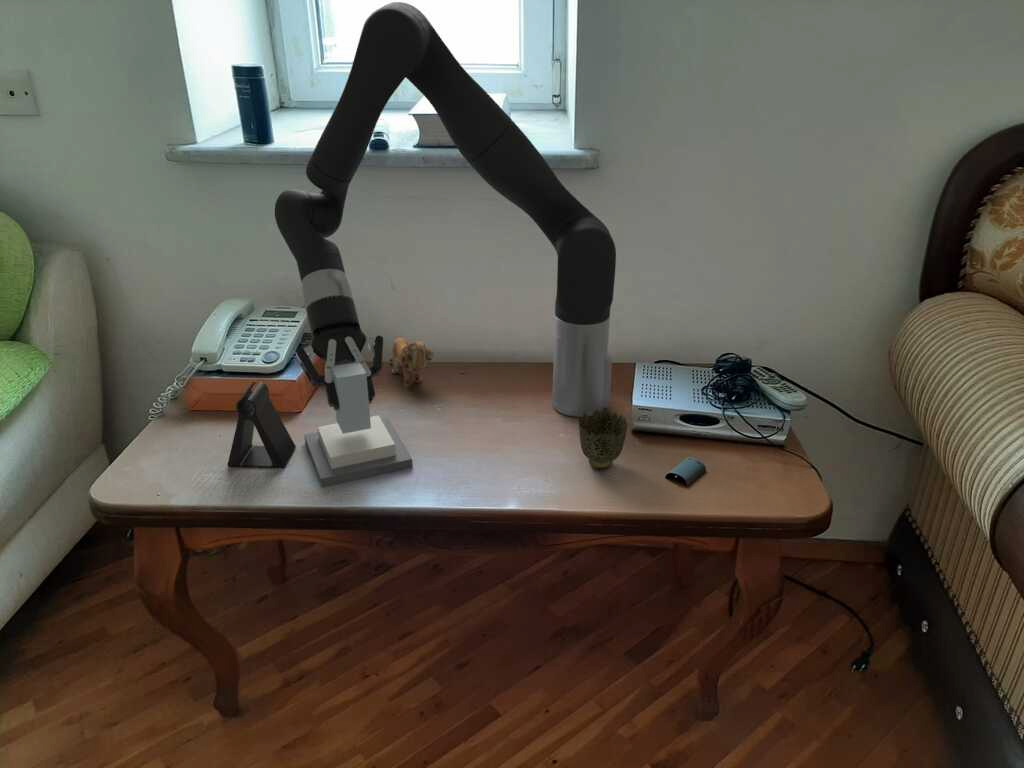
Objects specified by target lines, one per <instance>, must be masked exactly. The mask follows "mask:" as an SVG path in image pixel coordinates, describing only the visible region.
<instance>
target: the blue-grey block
mask: <svg viewBox="0 0 1024 768" xmlns="http://www.w3.org/2000/svg"><path fill="white" fill-rule="evenodd" d="M331 370H332V374H333V383H335V388H336V392H337V396H338V401H339V406H340V407H339V410H335V416H336V417H335V418H336V421H337V423H338V425H339V427H340V429H341V431H342V433H343V434H345V433H350V432H355V431H360V430H365V429H371V422H370V417H371V412H370V411H371V410H370V404H369V399H368V387H367V375H366V372H365V370H364V368H363V367H362V365H361V363H357V362H354V363H348V364H342V365H336V366H334V367H331Z"/></svg>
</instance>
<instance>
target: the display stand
mask: <svg viewBox="0 0 1024 768" xmlns="http://www.w3.org/2000/svg"><path fill="white" fill-rule="evenodd" d="M370 422H371V429H365V430H360V431H355V432H350V433H345V434H343V433H342V431H341V429H340V427H339V425H338V422H337V423H331V424H327V425H322V426H317V431H315V432H310V433H304V434H303V436H304V443H305V446H306V447H307V451H308V453H309V454H308V455H310V456H309V457H310V458H311V462H312V465H313V467H314V470H315V473H316V475H317V478H318V481H319V483H320V486H321V488H323V487H328V486H329V487H330V486H333V485H338V484H342V483H347V482H352V481H356V480H361V479H365V478H371V477H374V476H378V475H382V474H388V473H392V472H396V471H397V472H398V471H403V470H406V469H411V468H413V466H414V465H413V458H412V456H411V454H410V453H409V451H408V449H407V448H406V446H405V445H404V443H403V441H402V439H401V437H400V436H399V435H398V433H397V431H396V429H395V427H394V425H393V424H392V423H391V421H390V418H388V417H387V418H386V417H385V418H383V419H381V416H380V415H379V414H377V415H373V416H370Z"/></svg>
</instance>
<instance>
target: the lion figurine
mask: <svg viewBox="0 0 1024 768" xmlns="http://www.w3.org/2000/svg"><path fill="white" fill-rule="evenodd" d="M425 344H426V343H425V342H423V341H415V342H412V343H409V342H408V341H407V339H405V338H403V337H402V338H401V337H398V338H396V339H395V340H394V341H393V343H392V348H391V351H392V353H391V354H392V358H390V359H389V362H390V363H392V370H391V374H392V373H393V375H395V374H396V373H397V374H398V372H399V371H398V361H399V364H400V365H401V366H402V373H403V378H404V381H403V382H404V383H403V385H404V387H406V386H408V387H411V380H410V377H409V375H410V373H413V374H414V378H413V379H414V381H415V382H416V383H422V381H423V378H421V377H420V372H421V371H422V370H423V369H424V368H425V367H426V366H427V362H432V359H433V358H434V356H435V353H436V352H434V351H432V350H430V349H429V348H428V347H427V346H426V345H425Z"/></svg>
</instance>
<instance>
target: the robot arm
mask: <svg viewBox="0 0 1024 768" xmlns="http://www.w3.org/2000/svg"><path fill="white" fill-rule="evenodd" d="M355 51H356V52H355V53H354V54H355V55H354V59H353V61H352V64H351V69H350V70H349V75H348V77H347V79H346V82H345V85H344V88H343V91H342V92H341V96H340V98H339V100H338V102H337V105H336V106H335V109H334V110H333V112H332V114H331V116H330V118H329V120H328V122H327V124H326V126H325V127H324V129H323V132H322V133H321V135H320V138H319V139H318V141H317V143H316V146H315V148H314V150H313V151H312V154H311V156H310V158H309V160H308V162H307V164H306V166H305V174H306V177H307V179H308V181H309V182H310V183H311V184H313V185H314V186H315V187H317V188H318V189H320V190H321V192H319V193H316V192H310V191H306V190H300V189H297V188H296V189H295V188H288V189H286V190H284V191H282V192H281V193H280V194H279V195H278V196H277V198H276V201H275V203H274V218H275V223H276V226H277V228H278V230H279V232H280V234H281V236H282V237H283V239H284V242H285V244H286V245H287V247H288V248H289V250H290V253H291V254H292V257H293V258H294V260H295V261H296V265H297V269H298V273H299V278H300V282H301V292H302V296H303V297H302V299H303V307H304V310H305V311H306V315H307V321H308V324H309V330H310V334H311V339H312V340H311V343H310V345H308V346H306V347H298V348H296V351H295V358H296V361H297V362H298V364H299V366H300V367H301V369H302V371H303V372H304V374H305V375H306V378H307V380H308V381H309V382H310V384H311V385H312V387H322V388H324V391H325V394H326V398H327V403H328V406H329V407H330V408H333V410H334V411H336V410H339V407H340V406H339V401H338V396H337V392H336V388H335V383H333V374H332V370H331V367H334V366H336V365H342V364H348V363H354V362H357V363H361V365H362V367H363V368H364V370H365V372H366V375H367V387H368V399H369V405H371V404H372V402H373V400H374V399H375V396H376V391H375V388H374V383H373V380H372V378H374V377H378V376H379V375H380V372H381V370H382V368H383V367H382V364H383V352H384V351H383V349H384V337H383V336H382V335H377V336H376V337H374V336H373V337H372V336H366V334H365V333H364V332H363V331H362V329H361V325H360V322H359V317H358V314H357V309H356V306H355V305H356V304H355V302H354V298H353V297H354V295H353V293H352V289H351V285H350V283H349V280H348V278H347V275H346V271H345V267H344V262H343V259H342V256H341V252H340V249H339V247H338V245H336V244H335V243H334V242H333V241H331V240H328V239H326V238H329V237H331V236H333V235H334V234H335V233H336V232H337V231H338V230H339V228H340V226H341V224H342V220H343V215H344V210H345V204H346V198H347V194H348V190H349V187H350V184H351V182H352V180H353V179H354V177H355V174H356V172H357V171H358V168H359V167H360V164H362V163H361V162H362V160H363V159H364V156H365V154H366V152H367V150H368V149H369V145H370V142H371V139H372V137H373V134H374V131H375V129H376V126H377V123H378V121H379V119H380V116H381V114H382V113H383V111H384V109H385V107H386V105H387V104H388V102H389V101H390V99H391V98H392V95H394V93H395V92H396V90H397V89H398V88H399V87H400V86H401V84H402V83H403V81H404V80H405V79H407V80H408V81H409V82H410V83H411V84H412V85H413V86H414V87H415V88H416V89H417V90H418V91H419V93H421V94H422V95H423V96H424V98H426V99H427V101H428V102H429V104H430V105H431V106H432V107H433V109H434V110H435V112H436V113H437V115H438V117H439V119H440V121H441V123H442V124H443V126H444V128H445V130H446V132H447V134H448V136H449V137H450V139H451V141H452V142H453V144H454V145H455V147H456V149H457V150H458V151H459V153H460V154H461V156H462V157H463V158H464V160H465V161H466V162H467V163H468V164H469V165H470V167H472V168H473V169H474V171H475V172H476V173H477V174H478V175H479V176H480V177H481V178H482V179H483V180H484V182H486V183H487V184H488V185H489V186H490V187H491V188H492V189H494V190H495V192H497V193H498V194H499V195H501V196H502V197H504V198H505V199H506V200H508V201H509V202H510V203H512V204H514V205H515V206H516V207H518V208H519V209H521V210H522V211H523V212H524V213H525V214H527V215H528V216H529V218H531V220H533V222H534V223H535V224H536V225H537V226H538V228H539V229H540V230H541V231H542V233H543V234H544V235H545V237H546V238H547V239H548V241H549V242H550V244H551V245H552V246H553V248H554V250H555V252H556V254H557V255H556V256H557V268H556V270H557V271H556V272H557V274H556V276H557V277H556V278H557V279H556V297H555V301H554V304H555V305H554V332H553V333H554V336H553V338H554V339H553V340H554V341H553V343H554V344H553V373H552V374H553V375H552V378H553V379H552V395H551V396H552V407H553V408H554V409H555V411H557V412H559V413H561V414H562V415H566V416H569V417H574V418H575V417H577V418H579V417H580V416H581V417H583V414H584V413H586V414H587V416H589V415H590V416H592V415H593V413H594V410H598V411H599V412H601V411H603V410H605V409H607V408H610V397H611V395H610V394H611V384H612V383H611V381H612V380H611V379H612V363H613V359H612V357H611V356H610V355H608V352H609V351H608V350H609V349H608V348H609V337H610V336H609V335H610V321H611V319H610V317H611V307H612V303H613V300H614V290H615V289H614V288H615V280H616V279H615V277H616V265H617V263H616V262H617V250H616V249H617V248H616V245H615V241H614V239H613V237H612V235H611V233H610V231H609V229H608V227H607V226H606V224H605V223H604V222H602V221H601V219H600V218H598V217H597V216H596V215H595V214H593V213H592V211H590V210H589V209H588V208H587V207H586V206H584V205H583V204H582V203H581V202H580V201H579V200H578V199H577V198H576V197H575V196H574V195H573V194H572V193H571V192H570V191H569V190H568V189H567V188H566V187H565V185H563V183H562V182H561V181H560V180H559V179H558V176H557V175H556V174H555V173H554V171H553V169H552V168H551V167H550V165H549V164H548V163H547V162H548V161H547V160H546V159H545V158H544V157H543V156H542V154H541V153H540V151H539V150H538V149H537V148H536V147H535V145H534V144H533V143H532V141H531V140H530V139H529V138H528V136H527V135H526V134H525V133H524V132H523V131H522V130H521V128H520V127H519V126H518V125H517V124H516V123H515V121H514V120H513V119H512V118H511V117H510V116H509V114H507V113H506V112H505V111H504V110H503V108H502V107H501V106H500V105H499V104H498V103H497V102H496V101H495V100H494V99H493V98H492V97H491V95H490V94H489V93H488V92H487V91H486V90H485V89H484V88H483V87H482V86H481V85H480V84H479V83H478V82H477V81H476V80H475V79H474V78H472V76H471V75H470V74H469V73H468V72H467V71H466V70H465V69H464V67H463V66H462V65H461V63H459V60H457V59H456V57H455V56H454V54H453V53H452V52H451V50H450V49H449V48H448V46H447V45H446V44H445V42H444V40H443V39H442V38H441V36H440V35H439V34H438V32H437V31H436V29H435V27H434V26H433V25H432V23H431V22H430V21H429V19H428V18H427V17H426V15H425V14H424V13H423V12H422V11H421V10H420V9H419V8H417V7H415V6H414V5H412V4H410V3H407V2H403V1H392V2H390V3H387V4H385V5H383V6H381V7H379V8H377V9H376V10H375V11H373V12H372V13H371V14H370V15H369V16H368V17H367V18H366V20H365V21H364V24H363V25H362V29H361V33H360V36H359V40H358V43H357V47H356V50H355ZM365 345H367V346H368V350H369V351H370V352H371V353H372V363H371V364H372V365H371V367H369V366H368V365H367V363H366V359H365V358H364V357H363V354H362V351H363V349H364V346H365ZM313 353H314V354H315V355H316V356H318V357H319V358H320V359H321V360H322V361H323V362H324V363H325V366H324V367H325V368H324V375H320V374H319V373H318V370H317V369H316V367H315V366H314V364H313V362H312V360H313Z"/></svg>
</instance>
